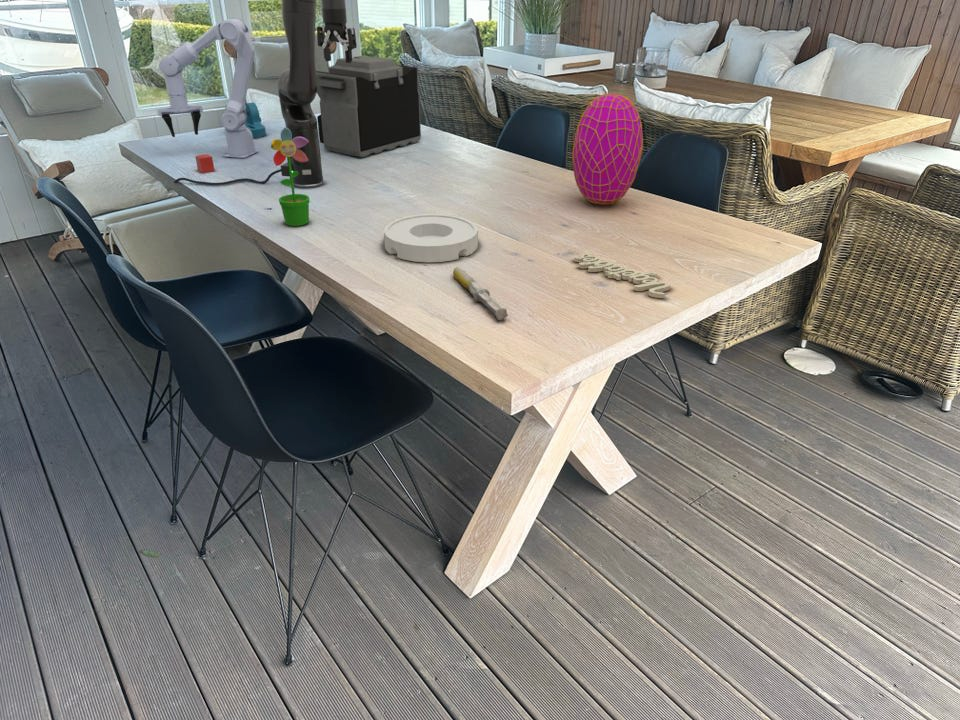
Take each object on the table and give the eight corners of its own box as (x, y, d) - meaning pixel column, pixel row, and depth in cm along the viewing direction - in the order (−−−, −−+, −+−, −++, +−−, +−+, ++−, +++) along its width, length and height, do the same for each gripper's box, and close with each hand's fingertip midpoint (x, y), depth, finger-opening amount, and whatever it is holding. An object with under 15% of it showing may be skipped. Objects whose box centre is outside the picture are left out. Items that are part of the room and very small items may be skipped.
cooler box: (383, 133, 276) (378, 52, 261) (425, 141, 265) (422, 56, 250) (314, 150, 251) (304, 61, 235) (358, 160, 240) (350, 67, 224)
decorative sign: (686, 282, 150) (660, 295, 144) (686, 286, 150) (659, 300, 144) (592, 249, 166) (565, 259, 160) (592, 253, 167) (565, 263, 161)
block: (209, 168, 229) (207, 153, 227) (214, 171, 226) (212, 156, 224) (197, 170, 227) (195, 155, 224) (202, 173, 224) (199, 158, 222)
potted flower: (284, 229, 179) (270, 130, 166) (277, 220, 185) (263, 124, 172) (319, 224, 183) (308, 127, 170) (311, 215, 188) (300, 121, 176)
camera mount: (228, 130, 277) (223, 103, 272) (254, 127, 282) (250, 100, 277) (243, 139, 265) (238, 110, 259) (269, 136, 270) (266, 108, 264)
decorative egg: (611, 217, 189) (624, 103, 174) (555, 202, 201) (562, 94, 185) (647, 202, 202) (662, 94, 186) (592, 188, 213) (602, 86, 198)
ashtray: (391, 227, 181) (390, 212, 179) (479, 229, 180) (479, 214, 178) (377, 261, 161) (376, 245, 159) (476, 263, 160) (476, 247, 158)
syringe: (449, 274, 155) (449, 263, 153) (465, 272, 156) (464, 260, 154) (490, 323, 135) (491, 310, 133) (508, 319, 136) (508, 307, 134)
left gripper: (156, 97, 228) (165, 139, 234) (201, 94, 234) (209, 135, 241) (152, 94, 233) (161, 135, 240) (197, 91, 239) (204, 131, 246)
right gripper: (358, 7, 219) (362, 62, 227) (323, 5, 225) (328, 59, 233) (344, 8, 213) (348, 64, 222) (308, 6, 219) (314, 61, 227)
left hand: (185, 135), depth 241 cm, fingers open, 7 cm apart
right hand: (338, 61), depth 227 cm, fingers open, 8 cm apart
